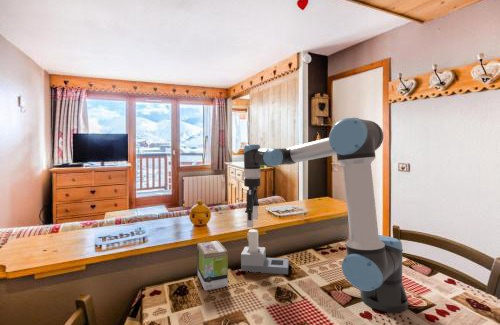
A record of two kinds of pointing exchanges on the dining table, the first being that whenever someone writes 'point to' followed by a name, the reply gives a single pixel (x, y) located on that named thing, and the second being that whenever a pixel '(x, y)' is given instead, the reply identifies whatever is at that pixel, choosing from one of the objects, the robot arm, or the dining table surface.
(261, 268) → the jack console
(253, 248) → the plug
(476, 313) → the dining table surface
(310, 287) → the dining table surface
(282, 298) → the dining table surface
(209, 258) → the tea box
